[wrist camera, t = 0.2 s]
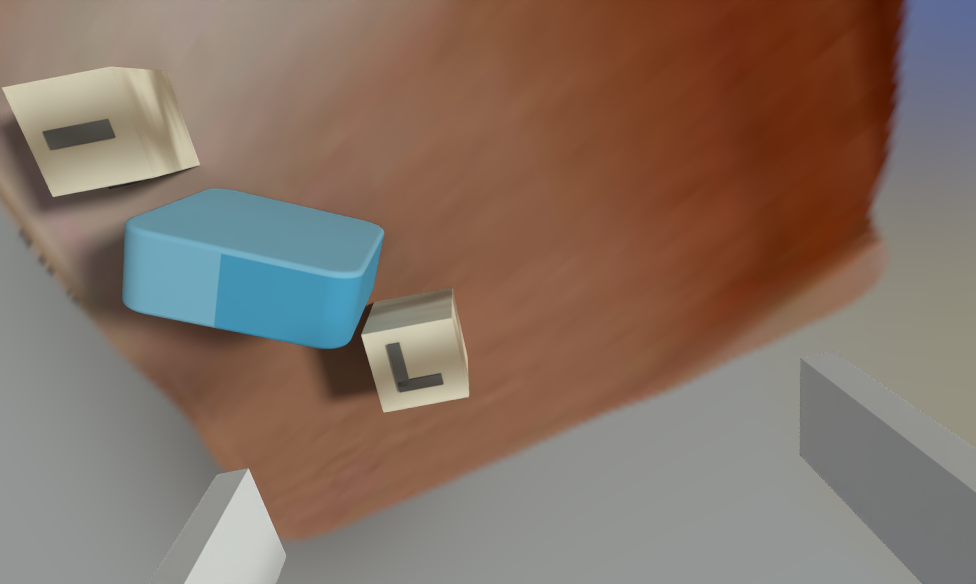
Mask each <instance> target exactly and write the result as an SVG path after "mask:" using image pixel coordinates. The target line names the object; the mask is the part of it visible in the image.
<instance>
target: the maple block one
mask: <svg viewBox="0 0 976 584" xmlns="http://www.w3.org/2000/svg"><path fill="white" fill-rule="evenodd" d="M2 89H3V91H4V93H5V95H6V97H7V100H8V102H9V104H10V106H11V108H12V110H13V112H14V115H15V117H16V119H17V121H18V123H19V125H20V127H21V130H22V132H23V134H24V136H25V138H26V140H27V143H28V145H29V147H30V149H31V151H32V153H33V155H34V158H35V160H36V162H37V164H38V166H39V168H40V170H41V173H42V175H43V177H44V179H45V181H46V183H47V186H48V188H49V190H50V192H51V194H52V196H53V197H56V196H61V195H66V194H71V193H76V192H82V191H87V190H92V189H97V188H102V187H108V188H109V189H111V188H117V187H122V186H126V185H130V184H134V183H137V182H141V181H145V180H148V179H152V178H156V177H158V176H162V175H165V174H169V173H173V172H176V171H180V170H184V169H187V168H191V167H195V166H198V165H200V164H199V161H198V158H197V155H196V153H195V150H194V147H193V144H192V141H191V139H190V136H189V133H188V130H187V128H186V125H185V122H184V119H183V117H182V114H181V111H180V108H179V105H178V103H177V100H176V97H175V94H174V92H173V89H172V86H171V83H170V81H169V78H168V75H167V72H166V71H158V70H146V69H134V68H121V67H106V68H101V69H96V70H91V71H85V72H80V73H75V74H70V75H65V76H60V77H55V78H49V79H44V80H39V81H34V82H29V83H24V84H19V85H13V86H8V87H3V88H2Z"/></svg>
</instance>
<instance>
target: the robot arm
mask: <svg viewBox="0 0 976 584" xmlns="http://www.w3.org/2000/svg"><path fill="white" fill-rule="evenodd" d="M800 377H801V378H800V456H801V457H802V458H803V459H804V460H805V461H806V462H807V463H808V464H809V465H810V466H811V467H812V468H813V469H814V471H815V472H816V473H817V474H818V475H819V476H820V477H821V478H822V479H823V480H824V481H825V482H826V483H827V484H828V485H829V486H830V487H831V488H832V489H833V491H835V492H836V494H837V495H838V496H839V497H840V498H841V499H842V500H843V501H844V502H845V503H846V504H847V505H848V506H849V507H850V508H851V509H852V510H853V512H854V513H855V514H856V515H857V516H858V517H859V518H860V519H861V520H862V521H863V522H864V523H865V524H866V525H867V526H868V527H869V528H870V529H871V530H872V531H873V533H874V534H875V535H876V536H877V537H878V538H879V539H880V540H881V541H882V542H883V543H884V544H885V545H886V546H887V547H888V548H889V549H890V550H891V551H892V553H894V555H895V556H896V557H897V558H898V559H899V560H900V561H901V562H902V563H903V564H904V565H905V566H906V567H907V568H908V569H909V570H910V571H911V573H912V574H914V576H915V577H916V578H917V579H918V580H919V581H920V582H921V583H922V584H976V448H974V447H973V446H971V445H970V444H968V443H967V442H965V441H964V440H962V439H961V438H959V437H958V436H957V435H955V434H954V433H952V432H951V431H949V430H948V429H946V428H945V427H943V426H942V425H940V424H939V423H937V422H936V421H935V420H933V419H931V418H930V417H929V416H927V415H926V414H924V413H923V412H921V411H920V410H918V409H917V408H916V407H914V406H912V405H911V404H910V403H908V402H907V401H905V400H904V399H902V398H901V397H899V396H898V395H896V394H895V393H893V392H892V391H890V390H889V389H887V388H886V387H885V386H883V385H882V384H880V383H879V382H877V381H876V380H874V379H873V378H872V377H870V376H869V375H867V374H866V373H864V372H863V371H861V370H860V369H858V368H857V367H855V366H854V365H853V364H851V363H850V362H848V361H847V360H845V359H844V358H842V357H841V356H839V355H838V354H836V353H835V352H828V353H823V354H818V355H813V356H809V357H803V358H801V373H800ZM285 558H286V554H285V552H284V550H283V547H282V545H281V543H280V540H279V538H278V536H277V533H276V531H275V529H274V527H273V524H272V522H271V520H270V517H269V515H268V513H267V510H266V508H265V506H264V503H263V501H262V499H261V496H260V494H259V492H258V489H257V487H256V485H255V482H254V480H253V478H252V475H251V473H250V471H249V469H243V470H238V471H233V472H228V473H223V474H218V475H216V477H215V478H214V480H213V481H212V483H211V485H210V486H209V488H208V489H207V491H206V493H205V494H204V496H203V497H202V499H201V501H200V502H199V504H198V505H197V507H196V509H195V510H194V512H193V513H192V515H191V516H190V518H189V520H188V521H187V523H186V524H185V526H184V527H183V529H182V531H181V532H180V534H179V535H178V537H177V539H176V540H175V542H174V544H173V545H172V546H171V548H170V550H169V551H168V553H167V554H166V556H165V558H164V559H163V561H162V562H161V564H160V566H159V567H158V569H157V570H156V572H155V574H154V575H153V577H152V578H151V580H150V582H149V583H148V584H276V582H277V580H278V577H279V574H280V572H281V569H282V566H283V563H284V561H285Z"/></svg>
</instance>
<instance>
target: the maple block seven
mask: <svg viewBox="0 0 976 584" xmlns="http://www.w3.org/2000/svg"><path fill="white" fill-rule="evenodd" d="M361 336H362V339H363V343H364V346H365V350H366V353H367V357H368V360H369V364H370V367H371V371H372V374H373V377H374V381H375V384H376V388H377V391H378V395H379V398H380V402H381V405H382V408H383V412H390V411H395V410H400V409H406V408H411V407H416V406H422V405H427V404H432V403H438V402H443V401H448V400H454V399H459V398H464V397H469V382H468V358H467V353H466V348H465V344H464V339H463V335H462V330H461V325H460V321H459V316H458V312H457V307H456V302H455V298H454V293H453V288H446V289H441V290H436V291H430V292H425V293H420V294H415V295H409V296H404V297H399V298H393V299H388V300H383V301H377V302H374V304H373V306H372V309H371V311H370V314H369V316H368V319H367V321H366V324H365V327H364V329H363V332H362V334H361Z"/></svg>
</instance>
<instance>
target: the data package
mask: <svg viewBox="0 0 976 584" xmlns="http://www.w3.org/2000/svg"><path fill="white" fill-rule="evenodd" d="M383 237H384V231H383V229H382V228H381V227H379V226H378V225H376V224H373V223H371V222H367V221H364V220H359V219H355V218H351V217H347V216H342V215H338V214H334V213H329V212H325V211H321V210H317V209H312V208H308V207H304V206H300V205H295V204H291V203H287V202H282V201H278V200H274V199H270V198H265V197H261V196H257V195H252V194H248V193H244V192H240V191H235V190H229V189H207V190H204V191H202V192H199V193H196V194H194V195H191V196H188V197H186V198H183V199H180V200H178V201H175V202H173V203H170V204H167V205H165V206H162V207H159V208H157V209H154V210H151V211H149V212H146V213H143V214H141V215H138V216H136V217H133V218H131V219H129V220H128V221H127V222H126V223H125V237H124V264H123V292H122V300H123V303H124V304H125V305H126V306H127V307H128V308H129V309H131V310H133V311H136V312H139V313H143V314H148V315H153V316H158V317H163V318H168V319H173V320H178V321H183V322H188V323H193V324H198V325H203V326H208V327H213V328H218V329H223V330H228V331H233V332H238V333H243V334H248V335H253V336H258V337H263V338H268V339H273V340H278V341H283V342H288V343H293V344H298V345H303V346H308V347H313V348H320V349H333V348H339V347H342V346H344V345H346V344H347V343H349V342H350V340H351V338H352V336H353V334H354V331H355V329H356V327H357V324H358V322H359V320H360V317H361V315H362V313H363V311H364V308H365V306H366V304H367V301H368V299H369V297H370V294H371V292H372V290H373V287H374V282H375V277H376V272H377V267H378V262H379V257H380V252H381V247H382V242H383Z"/></svg>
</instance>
